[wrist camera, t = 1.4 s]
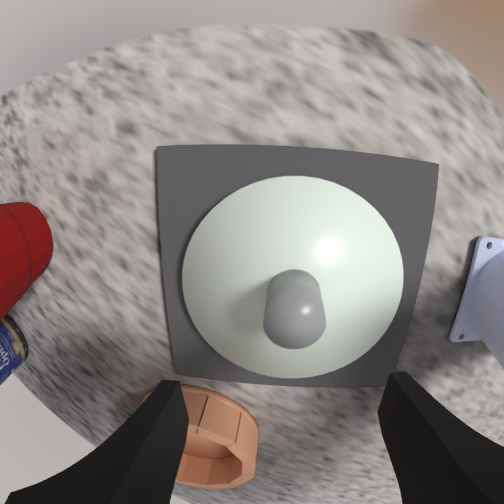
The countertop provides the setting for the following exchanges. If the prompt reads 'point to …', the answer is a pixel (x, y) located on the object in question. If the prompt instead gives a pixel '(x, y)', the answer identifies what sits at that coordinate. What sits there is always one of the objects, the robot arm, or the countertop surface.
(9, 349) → the pill bottle
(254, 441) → the bowl
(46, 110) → the countertop surface
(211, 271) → the lid
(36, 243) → the plastic cup
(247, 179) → the mat
